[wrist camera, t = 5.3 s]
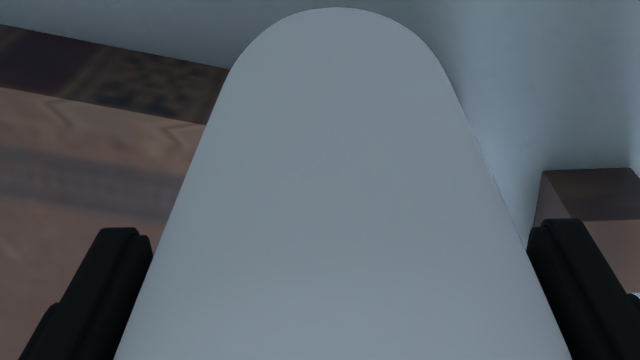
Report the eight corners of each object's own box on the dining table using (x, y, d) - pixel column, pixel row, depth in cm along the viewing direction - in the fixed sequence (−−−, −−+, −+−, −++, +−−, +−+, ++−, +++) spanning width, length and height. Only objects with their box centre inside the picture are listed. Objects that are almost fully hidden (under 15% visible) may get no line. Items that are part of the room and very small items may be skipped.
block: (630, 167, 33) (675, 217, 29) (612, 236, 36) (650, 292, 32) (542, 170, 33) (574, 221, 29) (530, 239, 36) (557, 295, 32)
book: (-76, 9, 29) (-172, 54, 23) (462, 115, 32) (492, 178, 26) (-25, 345, 41) (-79, 427, 36) (356, 399, 44) (361, 483, 39)
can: (369, -53, 14) (473, 301, 4) (491, 141, 17) (740, 645, 7) (173, 90, 16) (-99, 566, 6) (310, 242, 19) (286, 743, 9)
